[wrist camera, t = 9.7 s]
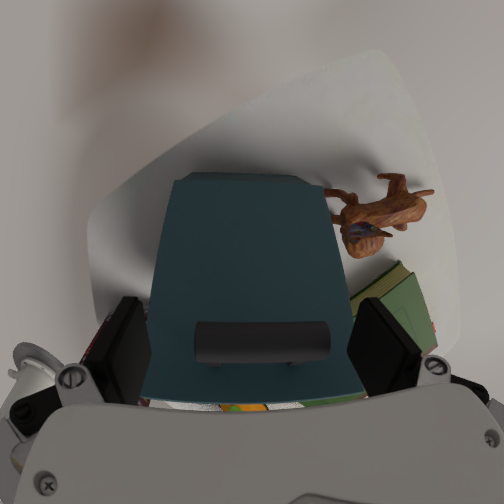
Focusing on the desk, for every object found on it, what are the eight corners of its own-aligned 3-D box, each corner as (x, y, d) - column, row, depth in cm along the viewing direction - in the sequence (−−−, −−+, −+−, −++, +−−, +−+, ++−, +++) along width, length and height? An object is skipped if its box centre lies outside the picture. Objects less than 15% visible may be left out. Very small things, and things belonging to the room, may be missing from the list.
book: (318, 405, 45) (323, 420, 42) (260, 355, 39) (263, 373, 35) (430, 331, 41) (441, 343, 37) (404, 257, 34) (418, 269, 31)
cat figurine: (427, 165, 30) (504, 186, 17) (429, 212, 32) (498, 248, 19) (302, 182, 30) (350, 211, 17) (310, 237, 32) (354, 296, 20)
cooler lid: (358, 394, 13) (409, 377, 9) (143, 398, 12) (104, 385, 8) (319, 192, 21) (336, 141, 17) (175, 187, 21) (167, 133, 16)
